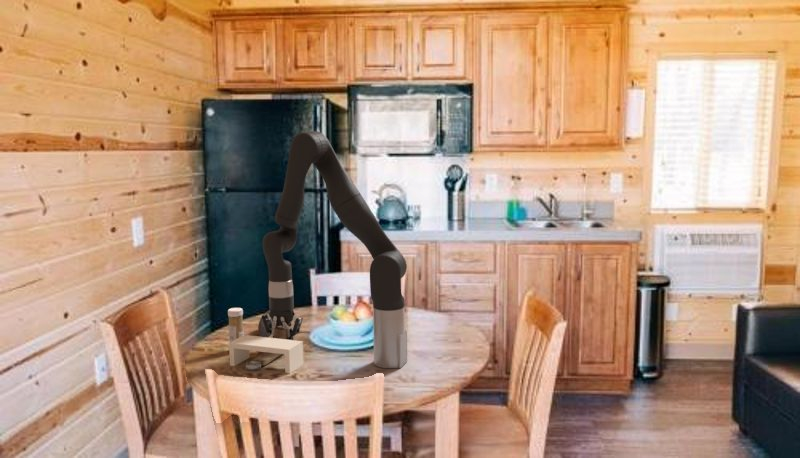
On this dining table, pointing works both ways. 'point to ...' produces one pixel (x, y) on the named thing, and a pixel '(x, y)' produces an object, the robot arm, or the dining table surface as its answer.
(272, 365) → the dining table surface
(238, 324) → the sprinkles bottle
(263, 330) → the perforated stone tool
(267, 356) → the brown l-shaped block
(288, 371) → the shelf
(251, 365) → the silver metal dome
